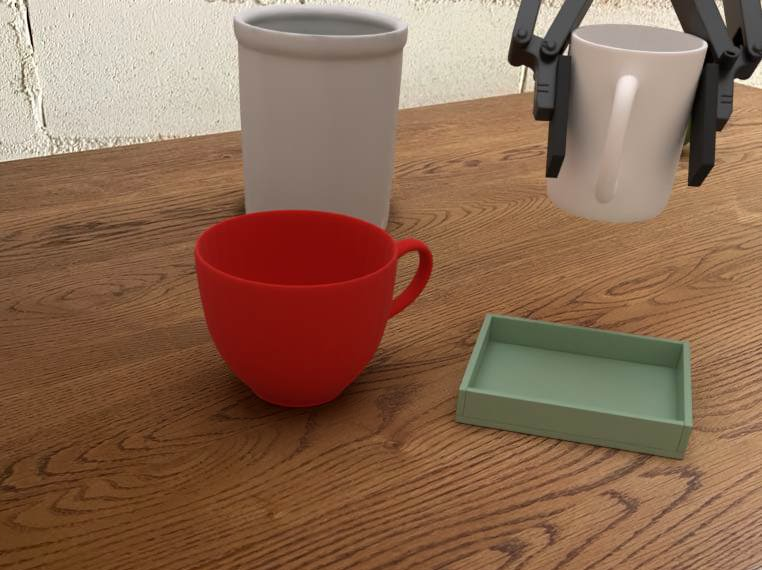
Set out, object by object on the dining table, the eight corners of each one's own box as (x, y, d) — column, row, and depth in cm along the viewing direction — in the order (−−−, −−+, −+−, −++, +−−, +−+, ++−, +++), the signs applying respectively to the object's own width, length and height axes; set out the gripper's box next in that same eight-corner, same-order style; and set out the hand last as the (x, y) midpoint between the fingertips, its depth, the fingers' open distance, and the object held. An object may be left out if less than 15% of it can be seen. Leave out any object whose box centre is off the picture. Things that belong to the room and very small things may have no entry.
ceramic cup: (472, 392, 65) (489, 253, 59) (252, 452, 58) (245, 303, 52) (378, 318, 74) (384, 190, 67) (177, 363, 67) (163, 226, 61)
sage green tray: (681, 372, 68) (690, 341, 67) (682, 460, 59) (693, 426, 58) (482, 343, 71) (486, 312, 69) (454, 422, 62) (458, 389, 60)
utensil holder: (336, 187, 98) (340, -3, 87) (427, 232, 88) (444, 25, 77) (213, 213, 91) (200, 9, 80) (298, 264, 81) (296, 42, 70)
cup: (668, 191, 66) (708, 31, 59) (661, 253, 57) (707, 72, 50) (552, 176, 68) (578, 18, 61) (527, 233, 59) (555, 56, 52)
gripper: (787, -109, 63) (775, 210, 61) (476, -124, 64) (453, 190, 61) (841, -210, 55) (829, 150, 53) (488, -225, 56) (462, 128, 54)
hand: (627, 171), depth 57 cm, fingers closed on cup, 8 cm apart
